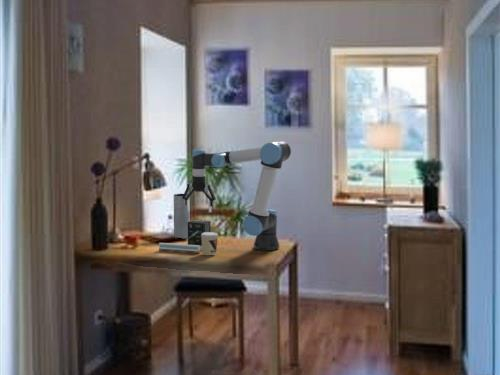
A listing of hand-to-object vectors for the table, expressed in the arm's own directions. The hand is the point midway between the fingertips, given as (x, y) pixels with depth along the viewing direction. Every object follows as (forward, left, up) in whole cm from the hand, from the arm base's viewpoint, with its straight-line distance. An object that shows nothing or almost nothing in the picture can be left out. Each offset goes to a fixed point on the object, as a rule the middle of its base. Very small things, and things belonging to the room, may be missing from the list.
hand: (199, 211), depth 392 cm
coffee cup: (-13, +20, -21) cm, 32 cm away
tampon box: (0, 0, -21) cm, 21 cm away
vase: (+18, -19, -21) cm, 33 cm away
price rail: (+5, +20, -19) cm, 28 cm away
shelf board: (+5, +14, -20) cm, 25 cm away
